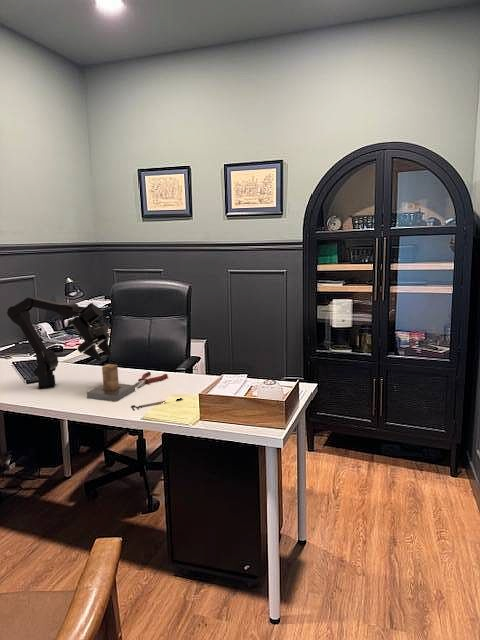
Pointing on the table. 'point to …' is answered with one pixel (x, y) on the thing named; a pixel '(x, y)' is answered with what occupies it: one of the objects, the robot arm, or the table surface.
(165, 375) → the pliers
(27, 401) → the table surface
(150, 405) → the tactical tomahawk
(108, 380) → the walnut peg
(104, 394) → the post plate
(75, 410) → the table surface
